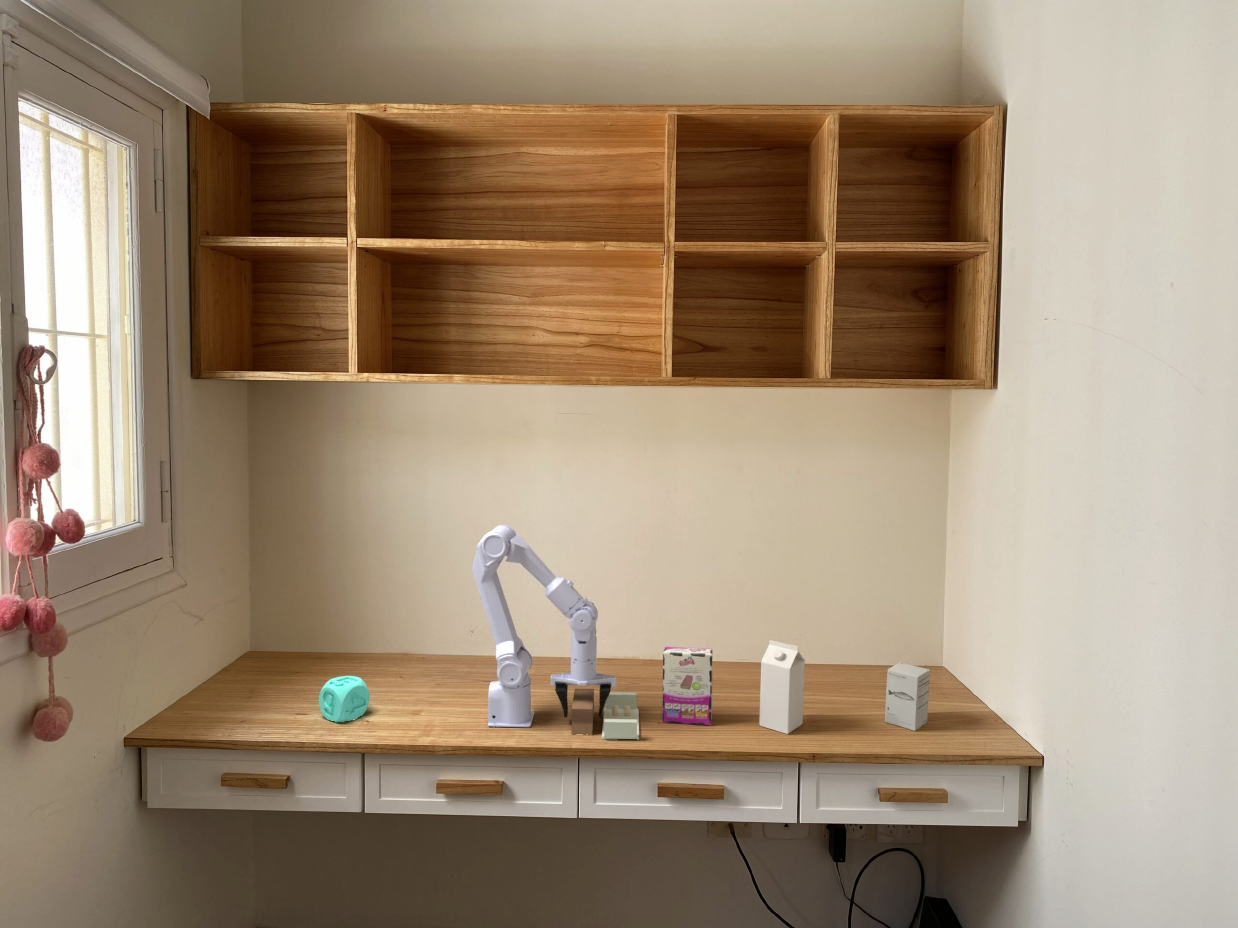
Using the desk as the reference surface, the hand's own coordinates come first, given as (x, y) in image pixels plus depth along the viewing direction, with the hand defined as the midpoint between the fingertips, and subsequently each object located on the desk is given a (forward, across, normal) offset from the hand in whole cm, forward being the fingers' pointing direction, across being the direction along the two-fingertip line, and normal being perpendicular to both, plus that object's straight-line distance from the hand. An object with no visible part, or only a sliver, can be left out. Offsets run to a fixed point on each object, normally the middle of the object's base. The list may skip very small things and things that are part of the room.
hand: (583, 716), depth 184 cm
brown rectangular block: (+2, 0, 0) cm, 2 cm away
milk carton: (+2, +44, +1) cm, 45 cm away
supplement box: (+2, +74, +4) cm, 74 cm away
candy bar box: (+2, +24, +3) cm, 24 cm away
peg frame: (+2, +8, 0) cm, 9 cm away
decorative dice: (+2, -54, +2) cm, 55 cm away
